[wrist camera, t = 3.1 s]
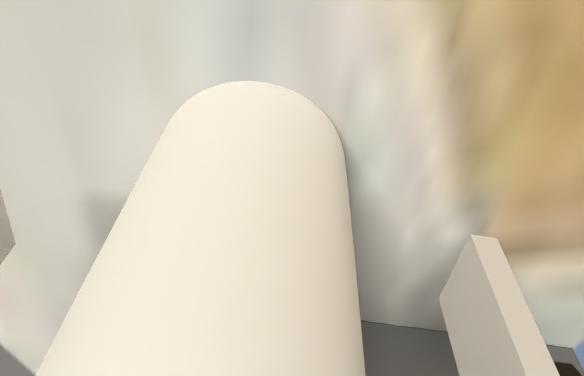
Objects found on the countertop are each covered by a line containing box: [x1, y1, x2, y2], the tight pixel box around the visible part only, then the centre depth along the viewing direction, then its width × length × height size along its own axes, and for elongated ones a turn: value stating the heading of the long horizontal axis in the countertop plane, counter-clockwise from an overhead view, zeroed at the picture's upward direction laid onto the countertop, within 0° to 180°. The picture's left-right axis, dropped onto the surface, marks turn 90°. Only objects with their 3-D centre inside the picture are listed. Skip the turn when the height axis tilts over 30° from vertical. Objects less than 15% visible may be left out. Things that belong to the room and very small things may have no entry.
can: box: [35, 81, 365, 376], centre depth 12 cm, size 6×6×12 cm
